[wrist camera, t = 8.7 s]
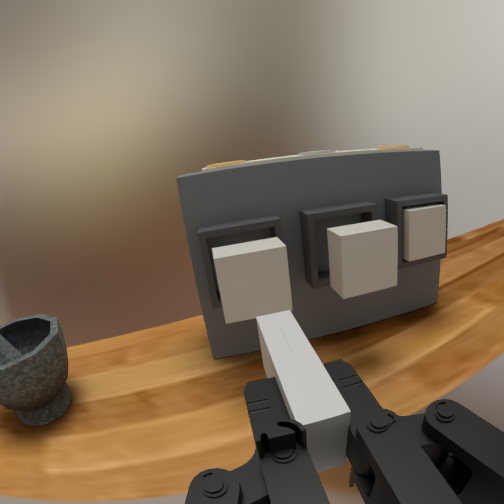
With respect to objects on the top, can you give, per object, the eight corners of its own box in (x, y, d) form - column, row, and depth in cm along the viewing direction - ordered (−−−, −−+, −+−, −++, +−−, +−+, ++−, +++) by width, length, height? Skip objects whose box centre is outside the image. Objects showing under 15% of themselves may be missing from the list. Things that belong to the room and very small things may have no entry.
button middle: (381, 274, 24) (380, 219, 23) (397, 285, 22) (397, 226, 20) (330, 286, 24) (326, 228, 22) (343, 299, 21) (340, 236, 20)
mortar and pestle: (95, 369, 28) (54, 253, 24) (82, 436, 19) (11, 293, 15) (9, 380, 25) (-35, 277, 22) (-19, 437, 16) (-86, 316, 13)
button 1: (283, 296, 23) (277, 236, 22) (292, 310, 21) (286, 246, 20) (223, 307, 23) (212, 248, 21) (225, 323, 20) (213, 258, 19)
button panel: (412, 286, 35) (409, 145, 31) (447, 309, 29) (452, 145, 24) (211, 332, 33) (179, 169, 28) (214, 372, 26) (173, 172, 21)
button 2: (429, 245, 28) (430, 201, 27) (444, 252, 26) (445, 205, 25) (394, 253, 28) (393, 206, 27) (408, 261, 26) (408, 211, 24)
